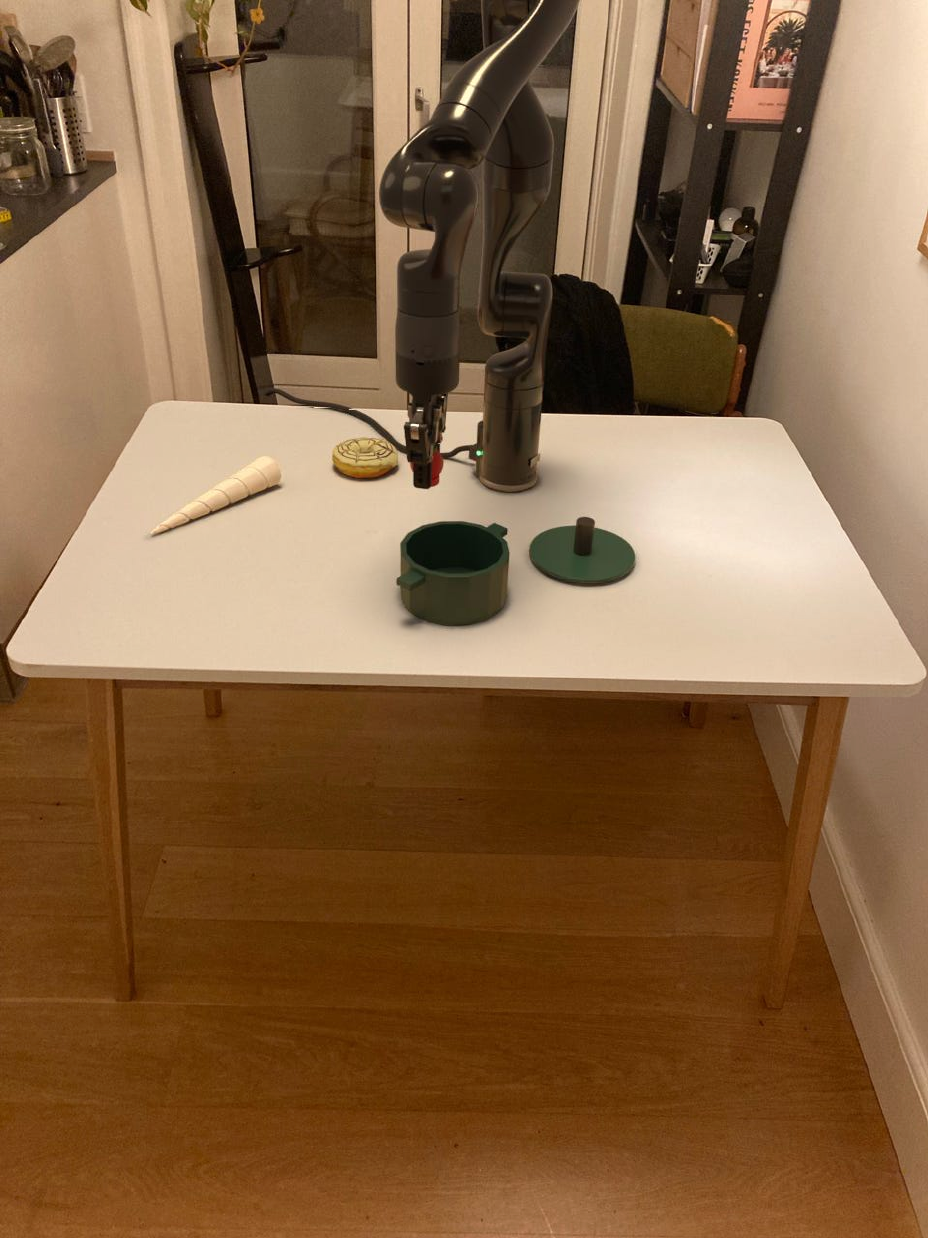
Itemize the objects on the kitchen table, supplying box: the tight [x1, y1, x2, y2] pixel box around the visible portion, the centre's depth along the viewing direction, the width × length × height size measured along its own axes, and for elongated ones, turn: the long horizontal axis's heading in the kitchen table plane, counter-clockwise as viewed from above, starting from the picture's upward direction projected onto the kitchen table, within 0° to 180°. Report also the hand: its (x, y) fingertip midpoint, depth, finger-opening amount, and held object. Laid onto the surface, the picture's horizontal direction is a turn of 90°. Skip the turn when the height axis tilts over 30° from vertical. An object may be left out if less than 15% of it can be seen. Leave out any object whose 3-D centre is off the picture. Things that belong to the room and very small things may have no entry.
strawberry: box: [409, 443, 445, 488], centre depth 123 cm, size 4×4×6 cm
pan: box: [396, 520, 510, 626], centre depth 131 cm, size 14×20×8 cm
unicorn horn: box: [149, 455, 282, 535], centre depth 150 cm, size 5×24×5 cm, turn 137°
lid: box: [528, 516, 636, 584], centre depth 140 cm, size 15×15×6 cm
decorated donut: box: [331, 436, 399, 479], centre depth 163 cm, size 10×11×4 cm
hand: (426, 478), depth 124 cm, fingers closed on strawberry, 4 cm apart
